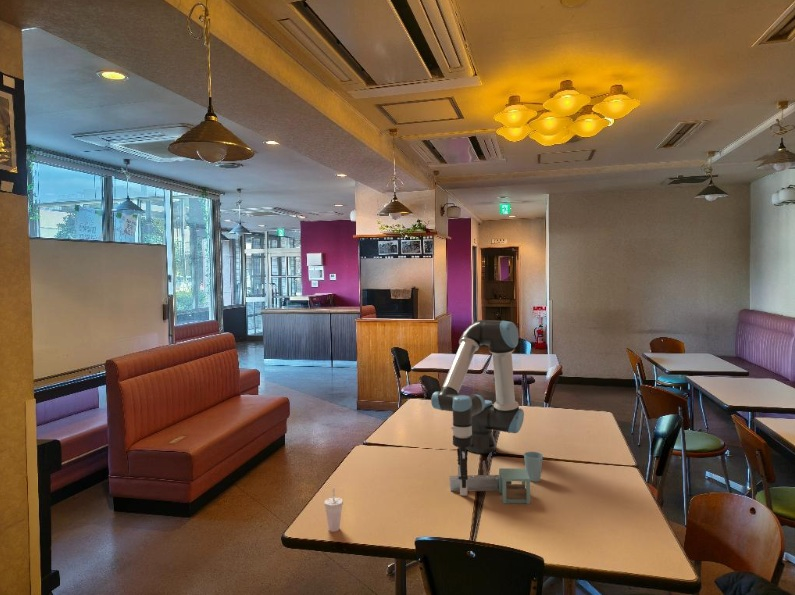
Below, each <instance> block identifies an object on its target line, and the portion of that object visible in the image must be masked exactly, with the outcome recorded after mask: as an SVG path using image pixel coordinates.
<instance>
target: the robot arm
mask: <svg viewBox="0 0 795 595" xmlns="http://www.w3.org/2000/svg"><path fill="white" fill-rule="evenodd" d="M519 338H520V336H519V330H518V327H517V325H516V324H515V323H514V322H512V321H507V320H493V319H492V320H489V319H488V320H487V319H481V320H476V321H474V322H473V323H471V324H470V325H468V327H466V329H465V330H464V331H463V333H462V334H461V336H460V338H459V340H458V344H459V346H458V349H457V351H456V353H455V356H454V358H453V361H452V362H451V366H450V368H449V370H448V372H447V375H446V377H445V379H444V382H443V385H442V386H441V389H440V391H434V392H433V393H432V395H431V399H430V403H431V406H432V408H434V409H436V410H439V411H446V412H452V426H451V427H450V429H451V430H452V445H453V446H454V447H456V454H457V459H456V461H457V464H458V465H457V476H461V477H459V479H460V491H459V495H460V496H468V491H467V480H468V452H470V451H471V452H470V453H473V452H476V453H475V454H491V453H494V452H495V451H496V450H497V445H496V439H495V437H494V435H493V431H497V432H504V433H508V434H517V433H519V431H520V430H521V429H522V426H523V423H524V419H525V417H524V416H525V412H524V409H522V408H520V406H519V405H520V404H519V402H518V401H516V399H515V398H516V397H515V383H514V371H513V370H514V369H513V356H512V353H513V352H514V351H515V348H516V347H517V346H518V344H519ZM480 346H488V351H489V353H490V354H492V364H493V376H494V385H495V386H494V388H495V401H494V402H493V401H492V400H489V399H484V397H483V396H482V395H481V394H480V395H479V394H477V393H475V394H471V395H466V394H460V393H459V392H460V390H461V388H462V385H463V383H464V380H465V378H466V375H467V374H468V370H469V368H470V365H471V363H472V360H473V357H474V355H475V353H476V352H477V351H479V349H480ZM467 450H468V451H467Z"/></svg>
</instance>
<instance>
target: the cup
mask: <svg viewBox="0 0 795 595" xmlns="http://www.w3.org/2000/svg"><path fill="white" fill-rule="evenodd" d="M523 457H524V458H523V459H524V467H525V468H524V469H525V470H526V472H527V474H528V476H529V478H530V482H533V483H534V482H535V483H536V482H537V483H538V482H540V480H541V476H542V468H543V459H544V455H543V453H541V452H537V451H527V452H524V453H523Z"/></svg>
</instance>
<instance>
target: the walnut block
mask: <svg viewBox="0 0 795 595" xmlns="http://www.w3.org/2000/svg"><path fill="white" fill-rule="evenodd" d="M506 499H526V485H525V486H524V484H522V483H511V484H506Z"/></svg>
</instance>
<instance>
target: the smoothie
mask: <svg viewBox="0 0 795 595" xmlns="http://www.w3.org/2000/svg"><path fill="white" fill-rule="evenodd" d="M343 500H344V499H343V498H341V497H336V496H335V487H332V496H331V497H328V498H326V499H325V500H324V501H323V503H324V504H323V505H324V508H325V513H326V521H327V529H328V531H329V532H334V533H335V532H338V531H339V530H340V529H341V527H340V526H341V519H342V508H343V505H344V501H343Z"/></svg>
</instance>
